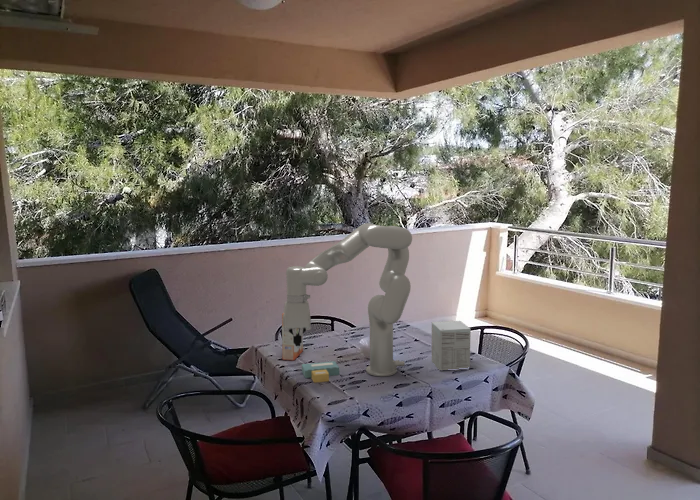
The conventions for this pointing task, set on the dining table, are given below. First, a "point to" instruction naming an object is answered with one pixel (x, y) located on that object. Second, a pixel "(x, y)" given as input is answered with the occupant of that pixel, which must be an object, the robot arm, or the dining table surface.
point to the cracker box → (290, 345)
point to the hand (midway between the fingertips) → (297, 345)
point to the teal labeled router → (320, 368)
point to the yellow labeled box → (320, 376)
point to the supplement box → (450, 345)
